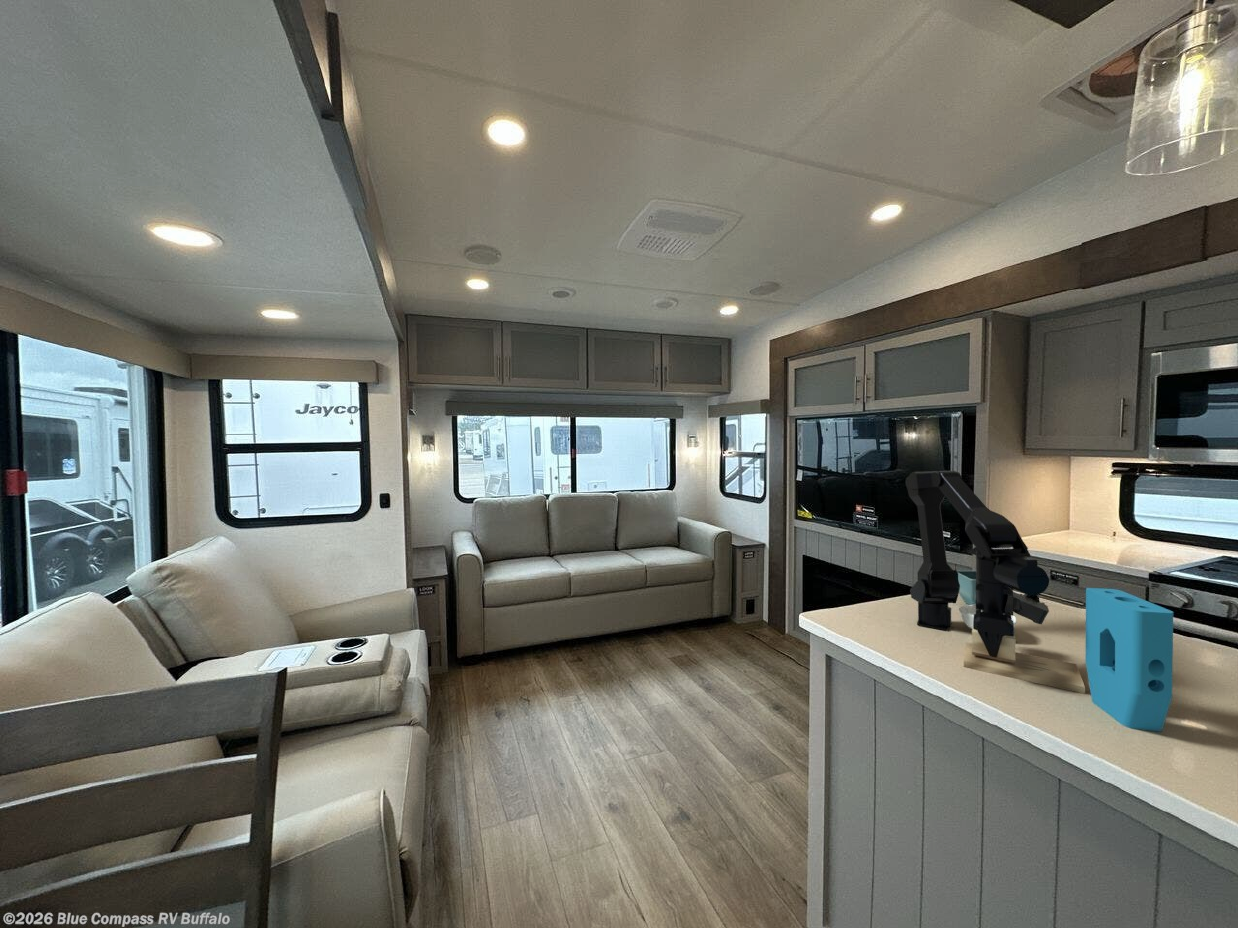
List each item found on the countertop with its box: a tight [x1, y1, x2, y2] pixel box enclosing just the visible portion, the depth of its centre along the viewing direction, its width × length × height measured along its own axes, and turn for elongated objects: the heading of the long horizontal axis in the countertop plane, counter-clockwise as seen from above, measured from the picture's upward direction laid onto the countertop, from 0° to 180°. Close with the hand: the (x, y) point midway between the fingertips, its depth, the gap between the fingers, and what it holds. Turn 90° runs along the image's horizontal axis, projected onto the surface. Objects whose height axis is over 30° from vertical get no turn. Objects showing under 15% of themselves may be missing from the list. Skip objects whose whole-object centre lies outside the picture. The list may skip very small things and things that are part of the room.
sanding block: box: [971, 627, 1016, 663], centre depth 97 cm, size 7×4×5 cm, turn 51°
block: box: [1085, 587, 1174, 732], centre depth 78 cm, size 12×5×20 cm, turn 164°
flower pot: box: [956, 570, 976, 605], centre depth 129 cm, size 9×9×9 cm
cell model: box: [958, 603, 1018, 630], centre depth 112 cm, size 10×12×7 cm
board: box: [963, 642, 1086, 694], centre depth 95 cm, size 18×11×1 cm, turn 51°
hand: (993, 652), depth 97 cm, fingers closed on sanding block, 4 cm apart
